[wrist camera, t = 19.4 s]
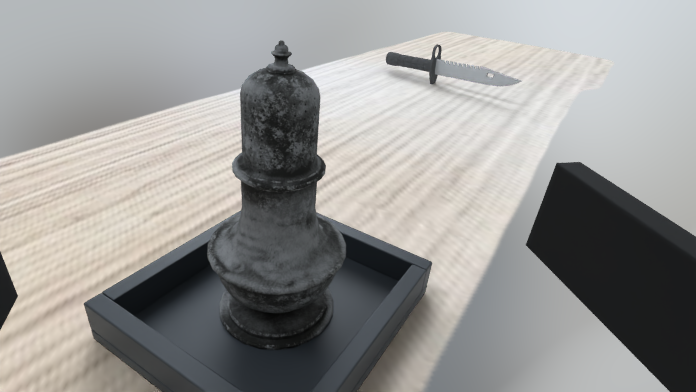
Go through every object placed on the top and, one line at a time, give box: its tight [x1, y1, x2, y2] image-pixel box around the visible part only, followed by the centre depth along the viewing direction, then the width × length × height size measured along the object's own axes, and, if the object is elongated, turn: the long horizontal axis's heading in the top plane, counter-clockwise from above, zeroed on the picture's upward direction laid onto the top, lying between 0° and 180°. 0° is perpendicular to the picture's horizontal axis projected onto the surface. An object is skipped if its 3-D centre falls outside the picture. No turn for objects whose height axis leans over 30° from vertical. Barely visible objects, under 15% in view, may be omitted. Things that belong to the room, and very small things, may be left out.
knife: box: [386, 45, 521, 86], centre depth 57 cm, size 19×2×5 cm, turn 51°
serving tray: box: [84, 211, 432, 392], centre depth 20 cm, size 12×11×2 cm
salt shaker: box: [207, 41, 346, 350], centre depth 17 cm, size 6×6×12 cm
